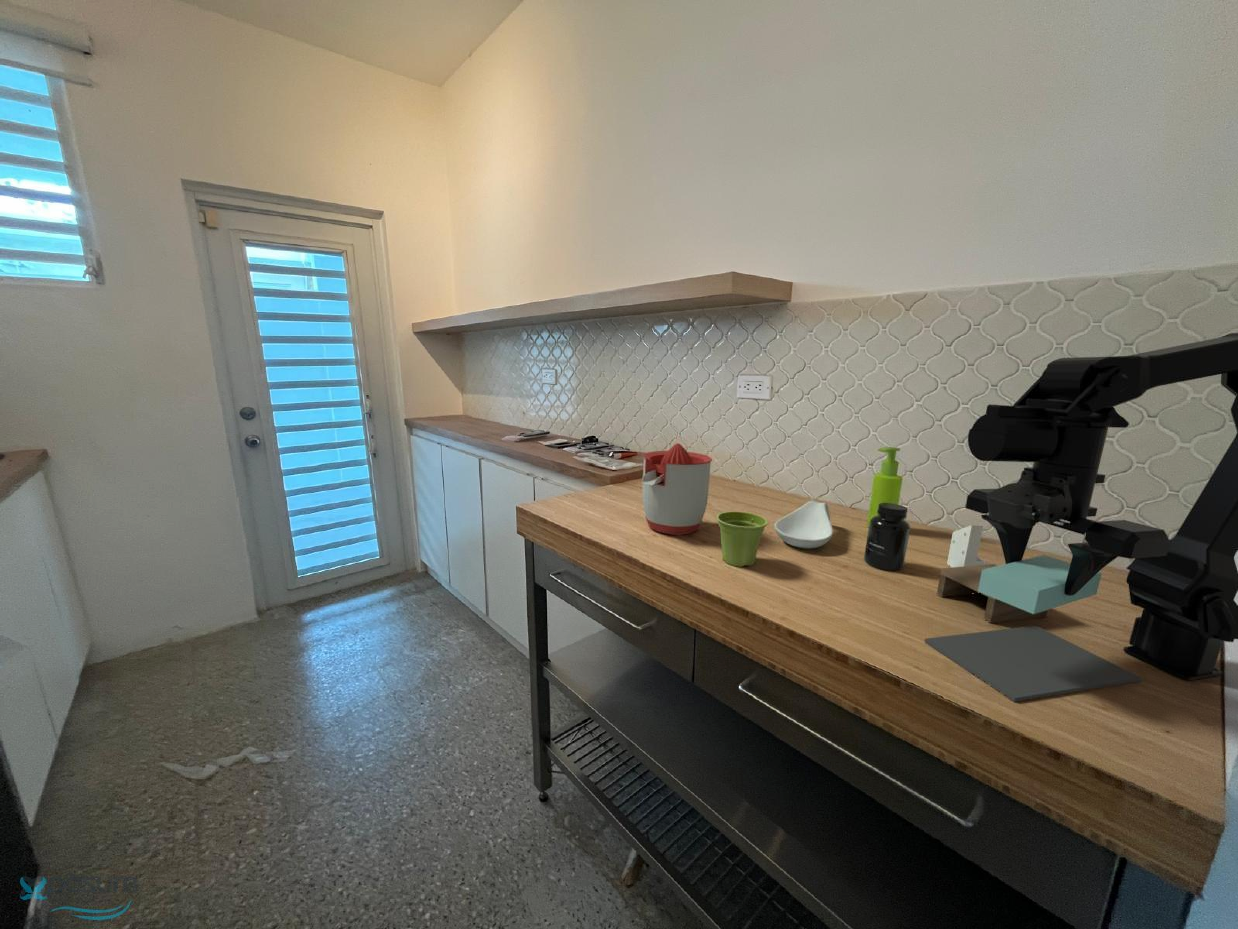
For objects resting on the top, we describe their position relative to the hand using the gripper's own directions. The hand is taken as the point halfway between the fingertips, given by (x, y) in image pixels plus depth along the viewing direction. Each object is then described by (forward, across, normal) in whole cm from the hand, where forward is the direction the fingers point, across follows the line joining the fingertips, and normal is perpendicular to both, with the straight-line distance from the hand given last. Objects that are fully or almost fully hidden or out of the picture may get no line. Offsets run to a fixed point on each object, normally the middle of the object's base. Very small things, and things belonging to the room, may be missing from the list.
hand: (1039, 582), depth 59 cm
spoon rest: (+11, -46, -1) cm, 48 cm away
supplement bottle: (+11, -30, +4) cm, 32 cm away
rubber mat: (+11, 0, 0) cm, 11 cm away
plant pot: (+11, -35, -24) cm, 44 cm away
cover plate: (+2, 0, 0) cm, 2 cm away
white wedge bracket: (+11, -25, +18) cm, 33 cm away
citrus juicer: (+11, -55, -31) cm, 64 cm away
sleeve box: (+11, -13, +10) cm, 19 cm away
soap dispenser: (+11, -49, +20) cm, 54 cm away
